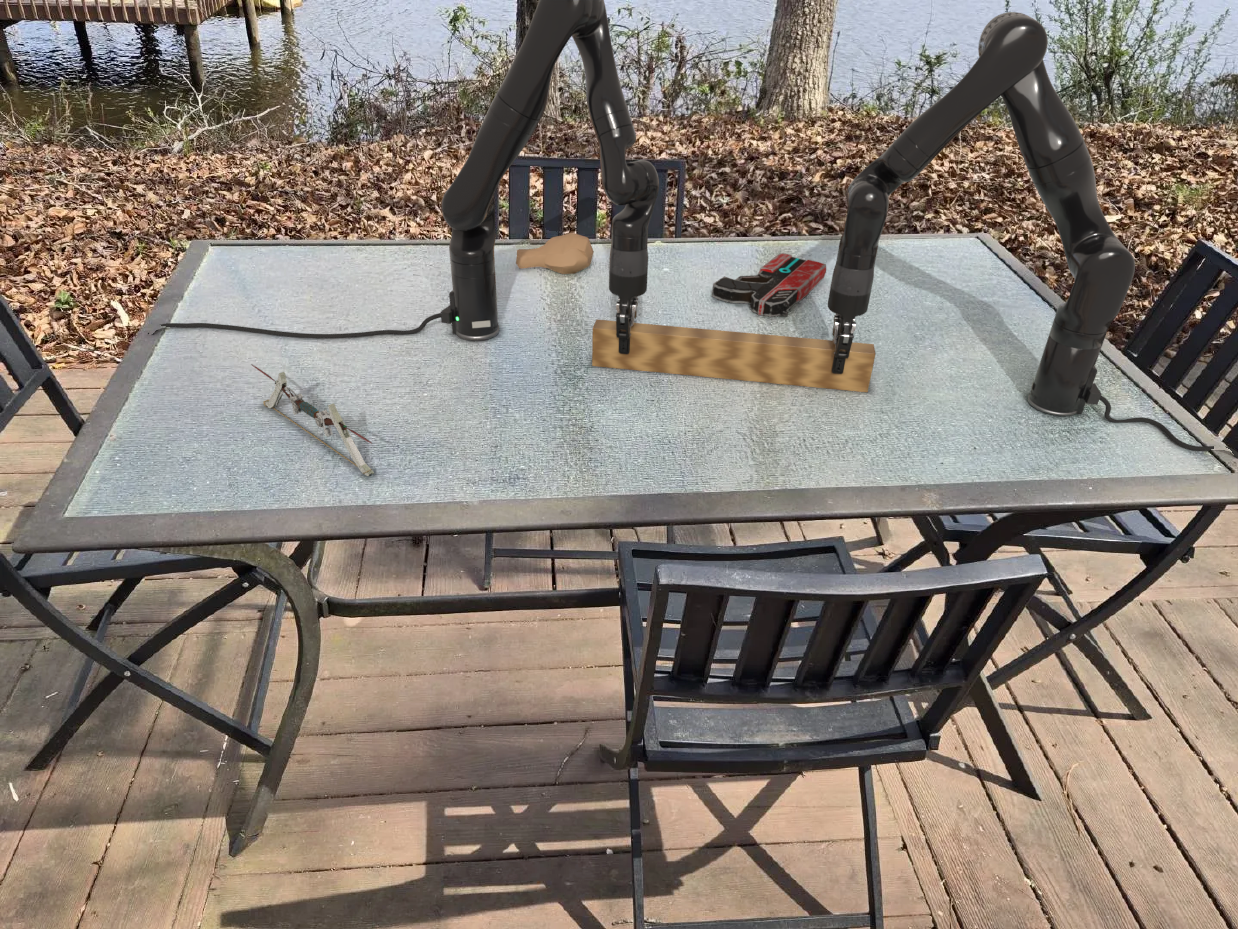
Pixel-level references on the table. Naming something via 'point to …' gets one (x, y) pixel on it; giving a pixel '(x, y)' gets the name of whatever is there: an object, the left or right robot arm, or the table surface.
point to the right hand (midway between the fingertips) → (836, 366)
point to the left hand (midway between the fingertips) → (625, 347)
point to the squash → (559, 254)
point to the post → (733, 356)
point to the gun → (772, 285)
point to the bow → (318, 419)
